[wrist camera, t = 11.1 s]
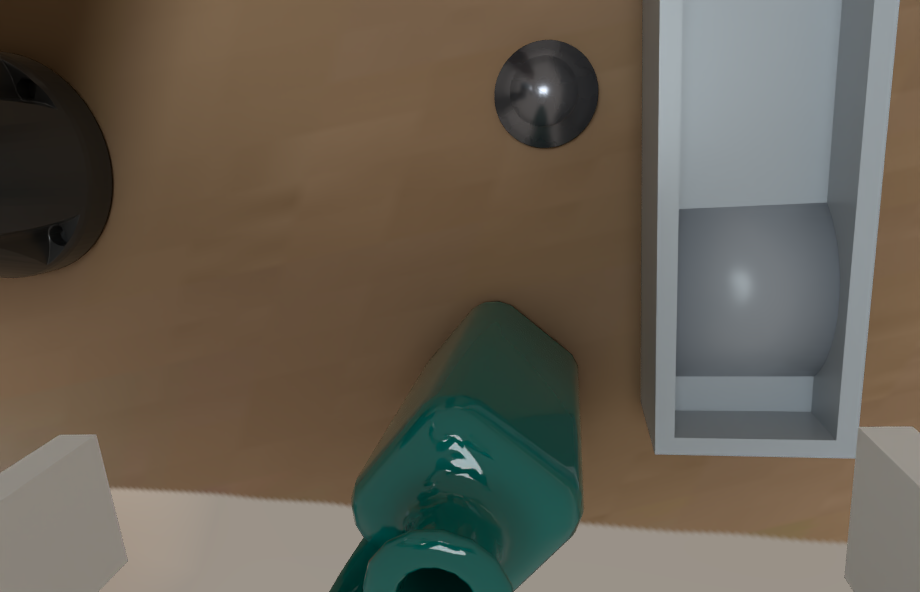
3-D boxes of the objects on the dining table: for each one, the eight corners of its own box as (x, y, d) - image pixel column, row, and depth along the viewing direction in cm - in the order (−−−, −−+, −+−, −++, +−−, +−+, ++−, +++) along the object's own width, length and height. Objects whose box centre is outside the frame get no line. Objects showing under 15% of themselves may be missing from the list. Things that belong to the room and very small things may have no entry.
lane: (631, 368, 47) (657, 463, 33) (632, -321, 36) (669, -584, 23) (776, 368, 45) (864, 468, 31) (819, -356, 35) (977, -663, 21)
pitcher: (491, 286, 41) (408, 450, 20) (591, 368, 41) (617, 616, 20) (403, 391, 44) (249, 631, 23) (498, 466, 44) (433, 774, 23)
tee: (498, 150, 38) (490, 152, 35) (493, 46, 37) (484, 36, 33) (598, 144, 37) (602, 145, 34) (597, 36, 36) (600, 25, 32)
